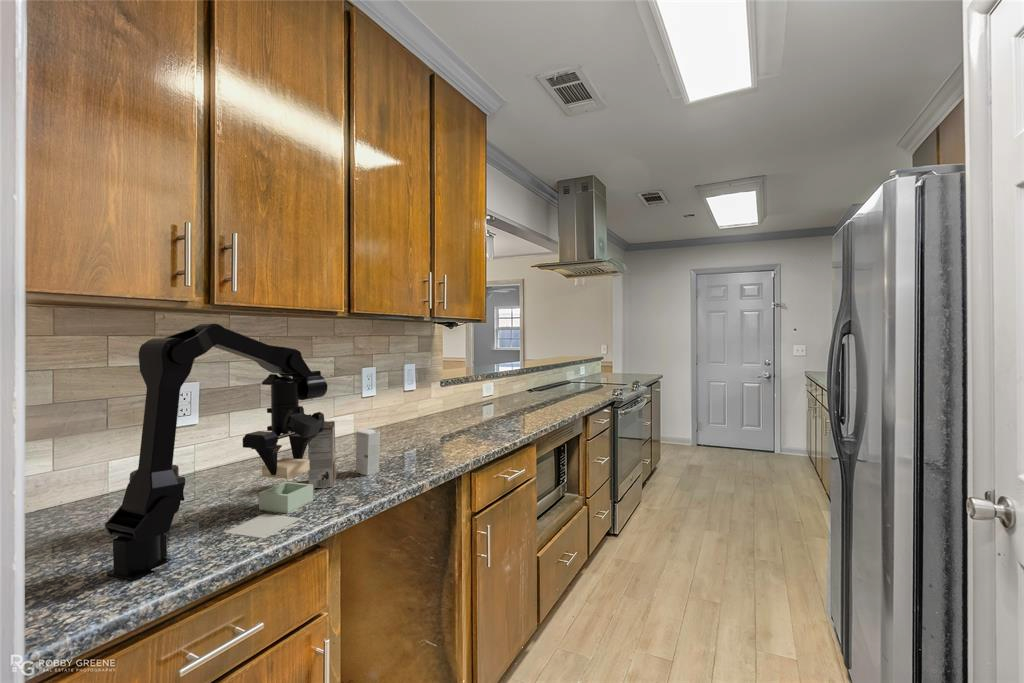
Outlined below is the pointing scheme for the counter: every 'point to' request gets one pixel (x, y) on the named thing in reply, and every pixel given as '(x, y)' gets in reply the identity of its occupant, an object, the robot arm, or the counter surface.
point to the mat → (263, 525)
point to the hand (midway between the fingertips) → (286, 470)
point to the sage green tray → (285, 497)
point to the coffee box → (323, 457)
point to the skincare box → (367, 451)
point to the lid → (288, 468)
